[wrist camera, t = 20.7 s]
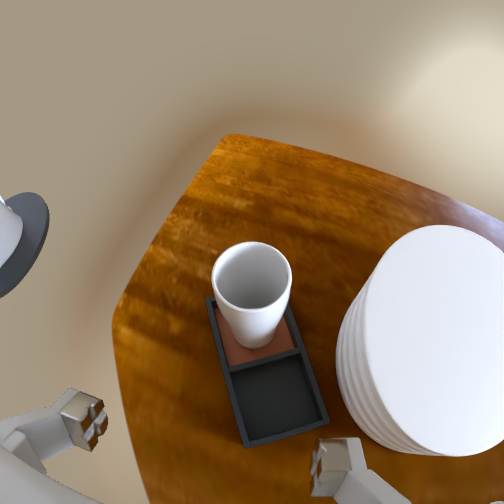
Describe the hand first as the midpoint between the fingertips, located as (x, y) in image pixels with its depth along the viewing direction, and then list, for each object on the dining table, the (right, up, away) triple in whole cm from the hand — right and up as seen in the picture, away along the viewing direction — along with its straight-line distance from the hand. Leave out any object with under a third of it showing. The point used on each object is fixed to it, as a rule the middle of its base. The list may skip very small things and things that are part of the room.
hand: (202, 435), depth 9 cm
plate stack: (+26, -8, +26) cm, 38 cm away
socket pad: (+3, -7, +26) cm, 28 cm away
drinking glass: (+2, -3, +28) cm, 29 cm away
